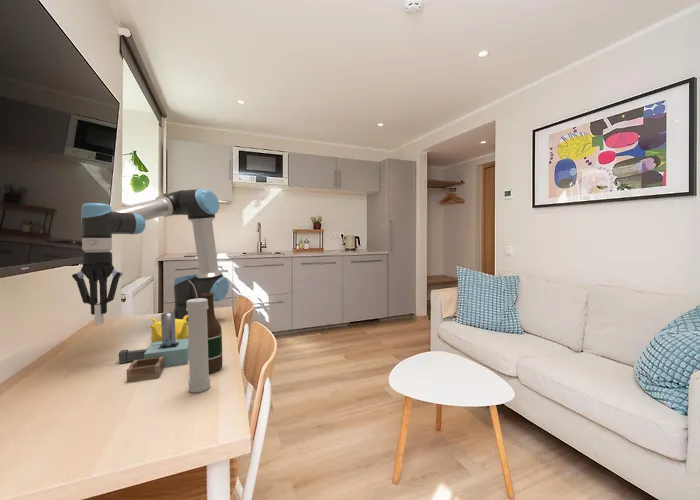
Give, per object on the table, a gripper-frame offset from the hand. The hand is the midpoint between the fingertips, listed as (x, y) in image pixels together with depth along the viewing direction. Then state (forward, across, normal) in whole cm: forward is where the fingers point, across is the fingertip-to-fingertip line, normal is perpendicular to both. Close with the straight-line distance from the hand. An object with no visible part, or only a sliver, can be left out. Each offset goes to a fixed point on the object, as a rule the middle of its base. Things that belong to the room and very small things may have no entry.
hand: (99, 324), depth 102 cm
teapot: (+14, +17, +19) cm, 29 cm away
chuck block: (+13, +20, -4) cm, 25 cm away
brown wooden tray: (+14, +16, -14) cm, 25 cm away
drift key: (+13, +10, 0) cm, 17 cm away
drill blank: (+14, +20, -4) cm, 25 cm away
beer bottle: (+14, +33, -18) cm, 40 cm away
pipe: (+14, +31, -31) cm, 46 cm away
